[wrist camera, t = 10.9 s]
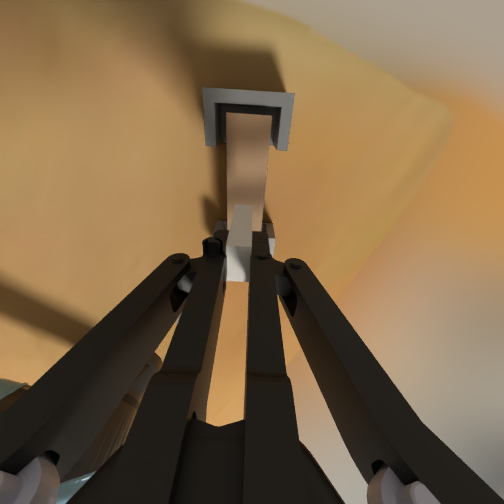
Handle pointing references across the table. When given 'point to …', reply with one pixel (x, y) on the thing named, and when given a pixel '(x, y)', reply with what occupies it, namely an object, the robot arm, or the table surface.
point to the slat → (247, 163)
